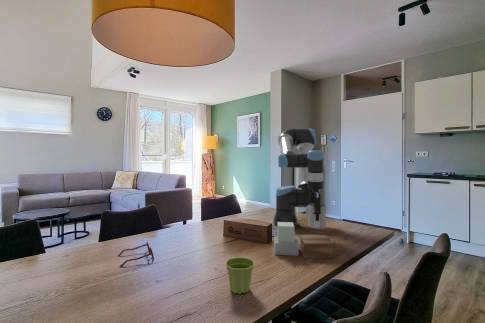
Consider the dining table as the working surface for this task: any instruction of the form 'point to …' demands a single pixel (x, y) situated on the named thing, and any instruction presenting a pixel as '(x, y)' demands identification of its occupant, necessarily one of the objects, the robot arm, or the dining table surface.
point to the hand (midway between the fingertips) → (314, 223)
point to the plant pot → (240, 274)
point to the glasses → (141, 256)
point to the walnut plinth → (316, 246)
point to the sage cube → (285, 232)
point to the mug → (311, 216)
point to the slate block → (286, 247)
